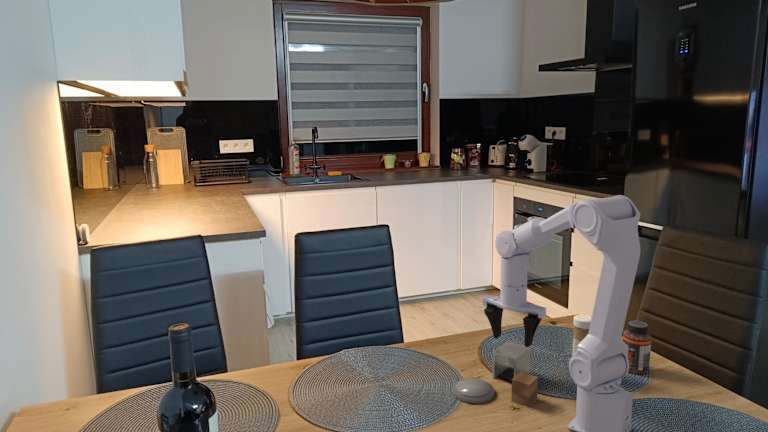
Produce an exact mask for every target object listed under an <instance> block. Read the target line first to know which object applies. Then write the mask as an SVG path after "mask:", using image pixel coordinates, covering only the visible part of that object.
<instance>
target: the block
mask: <svg viewBox="0 0 768 432" xmlns="http://www.w3.org/2000/svg"><path fill="white" fill-rule="evenodd" d="M538 380H539V377H538V376H536V375H534V374H531V373H530V374H527V373H524V372H520V373H519V374H518V375H516V376H515V377H514V376H513V378H512V379H511V396H510V397H511V399H510V400H511V402H513V403H515V404H518V405H521V406H524V407H526V408H529V407H530V406H531V405H533V404H534V402H535V401H536V400H537V399H538V385H539V383H538V382H539V381H538Z"/></svg>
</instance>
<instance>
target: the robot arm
mask: <svg viewBox="0 0 768 432" xmlns="http://www.w3.org/2000/svg"><path fill="white" fill-rule="evenodd" d="M640 217H641V212H640V211H639V209H638V208H637V207H636V204H634V202H633V201H632V199H630V198H629V197H627V196H626V195H622V194H617V195H613V196H609V197H602V198H601V197H600V198H593V199H588V198H587V199H582V200H580V201H578V202H573V203H571V204H569V206H567V207H565V208H563V209H561V210H560V211H558V212H556V213H554V214H553V215H551V216H549V217H547V218H544V217H539V216H530V217H528V218H527V221H526V222H525V223H522V224H516V225H515V226H514V227H513V229H512V230H501V231H499V233H498V234H497V236H496V237H495V240H494V241H495V249H496V252H497V253H498V255H499V256H500V290H499V291H500V295H498V296H497V295H489V294H486V295H484V296H483V297H482V301H481V302H482V306H485V308H484V309H483V311H484V314H485V316H486V318H487V320H488V321H489V324H490V327H491V330H492V336H493V338H494V339H496V340H497V339H499V338H500V337H501V336H502V322H503V321H502V320H503V319H502V318H503V312H504V310H507V311H511V312H515V313H521V314H524V315H526V316H525V317H524V318H522V322H523V327H524V346H525V347H531V346H532V345H533V341H534V337H535V334H536V331H537V328H538V327H539V324H540V323H541V321H542V320H543V319H544V318H545V317H547V307H543V306H540V305H538V304H536V303H533V302H530V301H528V299H527V298H528V264H529V262H530V260H531V254H532V253H533V252H534V250H535V249H538V248H541V247H543V246H545V245H547V244H550V243H551V242H552V241H553V239H554V235H555V234H557V233H560V232H563V231H565V230H568V229H570V228H571V229H576V230H577V231H578V232H579V233H580V234H581V235H582V237H583V238H585V239H586V241H588V242H589V243H590V244H591V245H592V246H593V247H594V248H595V249H596V250H598V251H599V252H601V254H602V255H603V261H602V266H601V271H600V275H599V279H598V284H597V285H598V286H597V288H596V293H595V294H596V295H595V300H594V304H593V308H592V309H593V310H592V312H591V313H592V315H591V316H592V318H591V323H590V328H589V333H588V335H587V336H586V337H585V338H584V339H583V340H582V341H581V342H580V343H579V344H578V346H577V348H576V352H575V354H574V355H573V356H571V357H570V359H569V362H568V369H569V374H570V376H571V379H572V380H573V382H574V384H575V385H576V400H575V401H576V405H575V406H576V407H575V416H574V418H573V419H572V420H571V421H570V422H569V423H568V425H567V429H568V430H571V431H573V432H630V431H631V430H632V417H633V416H632V413H633V394H632V392H630V391H628V390H625V388H622V387H621V386H620V385H621V384H622V378H625V376H627V375H628V374H629V372H628V371H629V361H628V350H629V347H628V346H627V345H626V344H625V343H624V342H623V339H622V337H623V333H624V327H625V322H626V319H627V313H628V310H629V306H630V300H631V296H632V292H633V287H634V284H635V283H634V282H635V279H636V274H637V270H638V265H639V262H640V256H641V251H642V250H641V243H640V237H639V231H638V228H639V223H640V220H641V219H640Z"/></svg>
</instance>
